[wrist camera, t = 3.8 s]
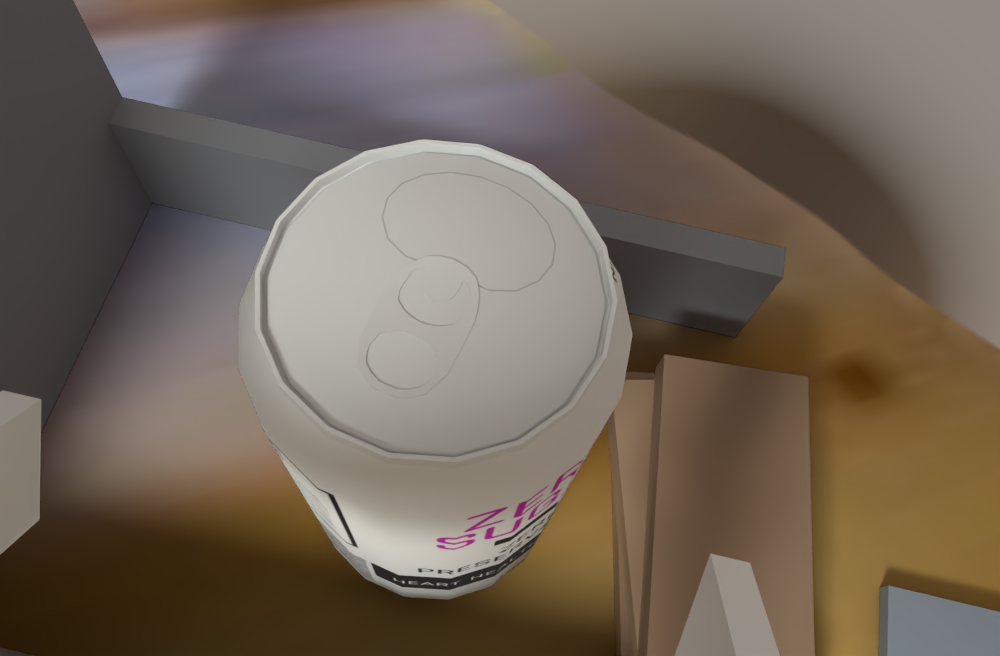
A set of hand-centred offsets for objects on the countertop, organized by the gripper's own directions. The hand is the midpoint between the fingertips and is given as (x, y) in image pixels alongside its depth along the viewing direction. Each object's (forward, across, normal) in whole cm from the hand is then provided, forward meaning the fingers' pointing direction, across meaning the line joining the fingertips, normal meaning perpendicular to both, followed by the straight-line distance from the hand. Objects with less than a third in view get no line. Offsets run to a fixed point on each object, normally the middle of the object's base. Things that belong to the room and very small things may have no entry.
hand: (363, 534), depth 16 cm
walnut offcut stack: (+12, -10, +6) cm, 17 cm away
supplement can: (+12, 0, +6) cm, 14 cm away
